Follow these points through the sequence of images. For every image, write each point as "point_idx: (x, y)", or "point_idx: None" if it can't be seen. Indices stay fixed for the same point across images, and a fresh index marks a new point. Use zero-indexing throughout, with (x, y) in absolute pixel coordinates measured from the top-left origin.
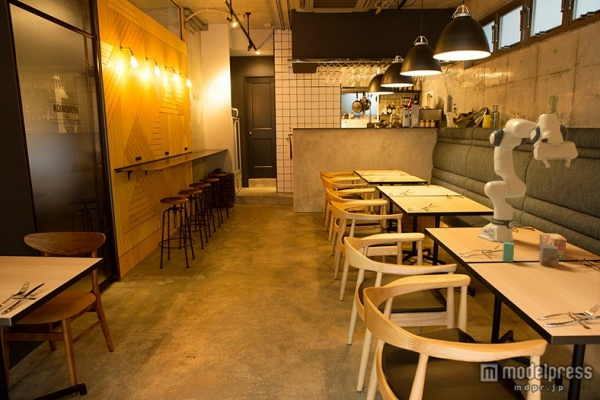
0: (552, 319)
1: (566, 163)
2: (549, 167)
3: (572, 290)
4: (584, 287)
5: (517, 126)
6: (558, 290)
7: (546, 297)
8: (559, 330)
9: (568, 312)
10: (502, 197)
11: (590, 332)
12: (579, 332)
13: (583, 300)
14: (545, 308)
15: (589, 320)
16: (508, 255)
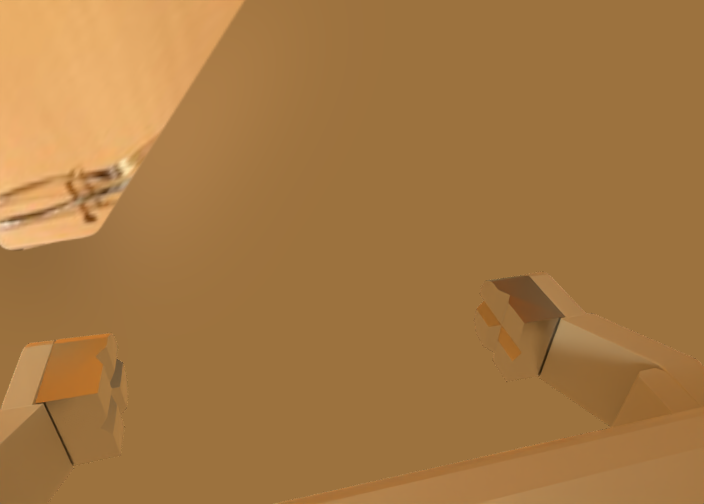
0: (18, 204)
1: (502, 360)
2: (107, 340)
3: (142, 37)
4: (202, 7)
5: None
6: (87, 41)
7: (26, 99)
8: (25, 235)
9: (71, 172)
10: None
11: (90, 231)
12: (67, 234)
13: (144, 107)
14: (9, 162)
15: (109, 196)
16: None
